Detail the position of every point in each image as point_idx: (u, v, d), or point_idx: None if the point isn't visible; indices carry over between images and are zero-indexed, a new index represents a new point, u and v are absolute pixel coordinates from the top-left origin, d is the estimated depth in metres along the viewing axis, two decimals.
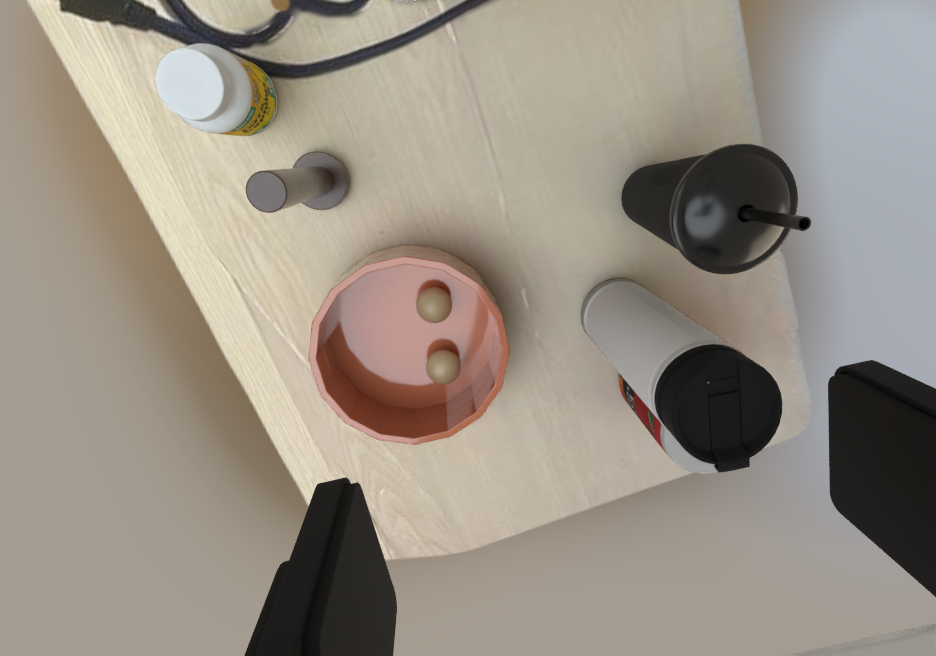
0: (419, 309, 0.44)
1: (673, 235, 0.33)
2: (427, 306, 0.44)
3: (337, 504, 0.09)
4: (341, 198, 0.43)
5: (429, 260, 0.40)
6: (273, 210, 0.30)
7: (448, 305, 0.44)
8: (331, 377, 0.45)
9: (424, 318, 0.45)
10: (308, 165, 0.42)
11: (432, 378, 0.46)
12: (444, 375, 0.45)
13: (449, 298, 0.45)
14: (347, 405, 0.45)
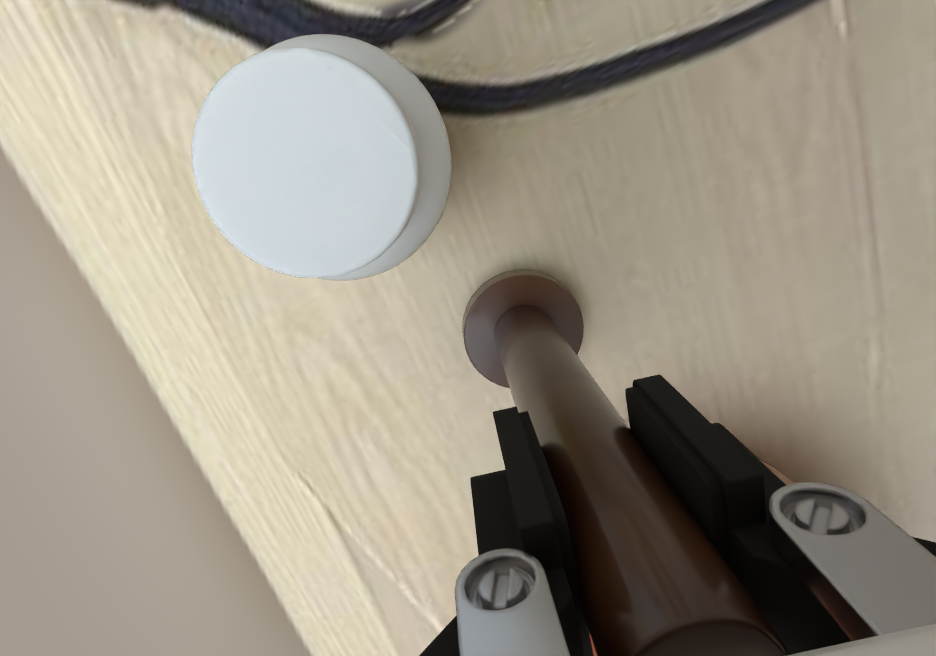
0: None
1: None
2: None
3: (521, 425, 0.10)
4: None
5: None
6: None
7: None
8: None
9: None
10: (505, 302, 0.20)
11: None
12: None
13: None
14: None
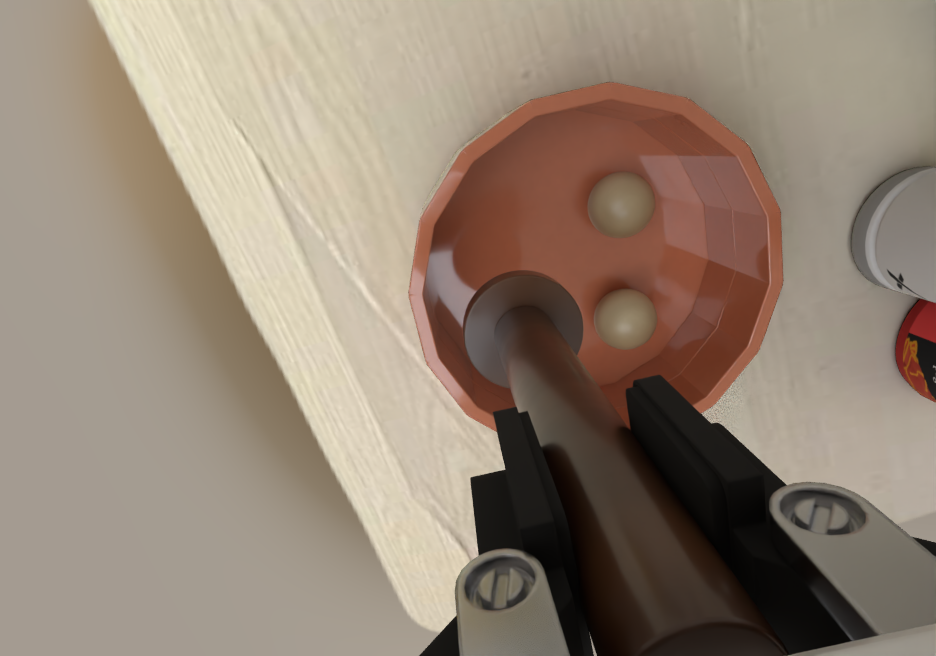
0: (600, 209, 0.24)
1: None
2: (620, 201, 0.24)
3: (521, 425, 0.10)
4: None
5: (657, 92, 0.20)
6: None
7: (653, 202, 0.24)
8: (437, 334, 0.25)
9: (608, 227, 0.25)
10: (505, 303, 0.20)
11: (611, 338, 0.26)
12: (636, 331, 0.25)
13: (652, 191, 0.25)
14: (468, 384, 0.25)
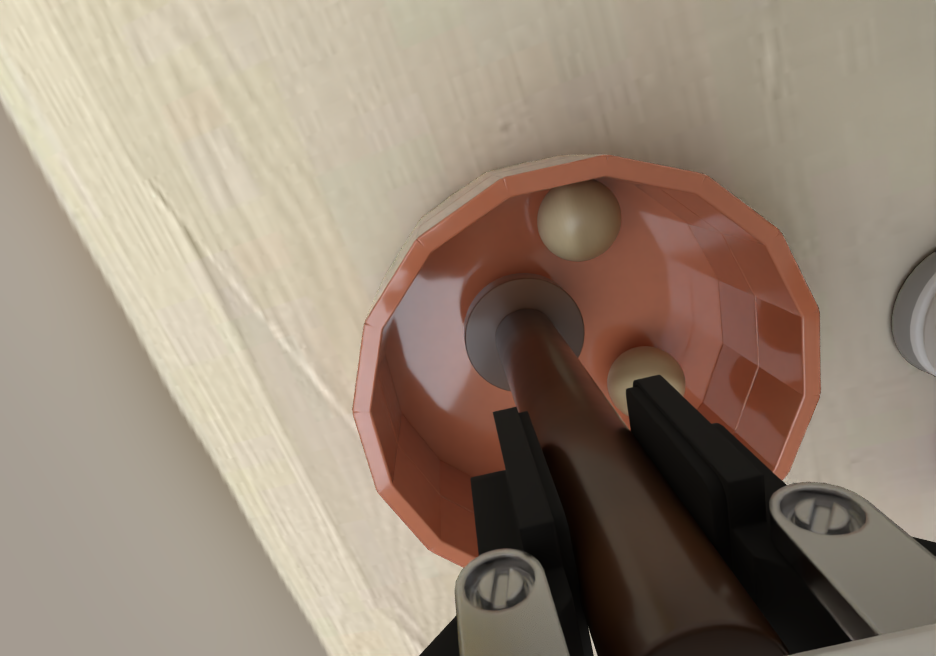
0: (594, 180, 0.19)
1: None
2: None
3: (521, 425, 0.10)
4: None
5: (666, 167, 0.16)
6: None
7: None
8: (395, 443, 0.20)
9: (596, 195, 0.19)
10: (506, 305, 0.20)
11: (613, 402, 0.22)
12: None
13: None
14: (431, 507, 0.20)
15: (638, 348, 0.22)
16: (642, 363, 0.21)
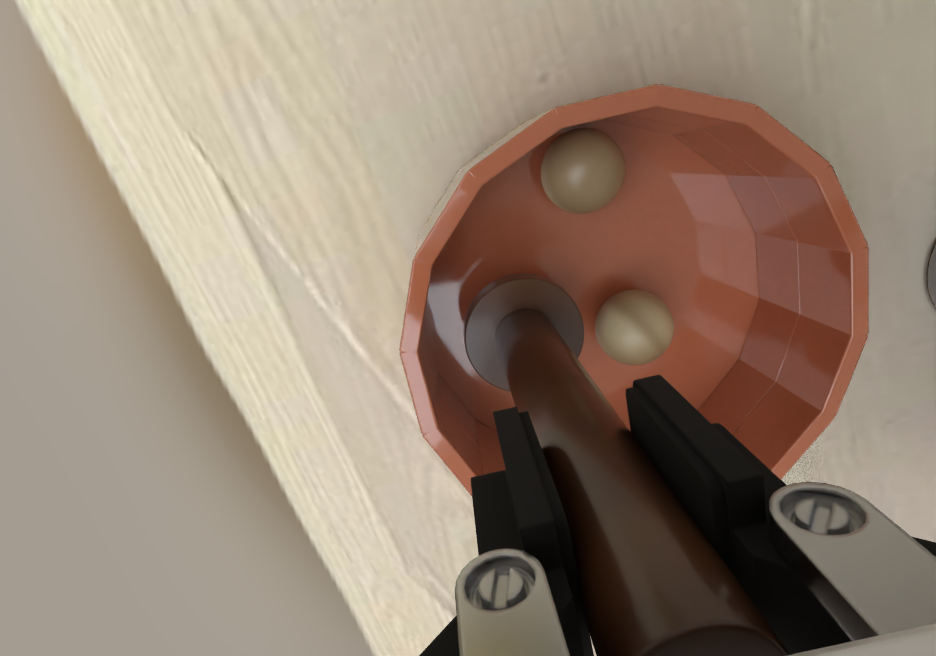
0: (586, 131, 0.19)
1: None
2: (608, 145, 0.19)
3: (521, 425, 0.10)
4: None
5: (717, 98, 0.16)
6: None
7: (608, 198, 0.19)
8: (436, 394, 0.20)
9: (570, 146, 0.19)
10: (506, 305, 0.20)
11: None
12: (610, 357, 0.22)
13: (610, 200, 0.20)
14: (473, 456, 0.20)
15: None
16: None
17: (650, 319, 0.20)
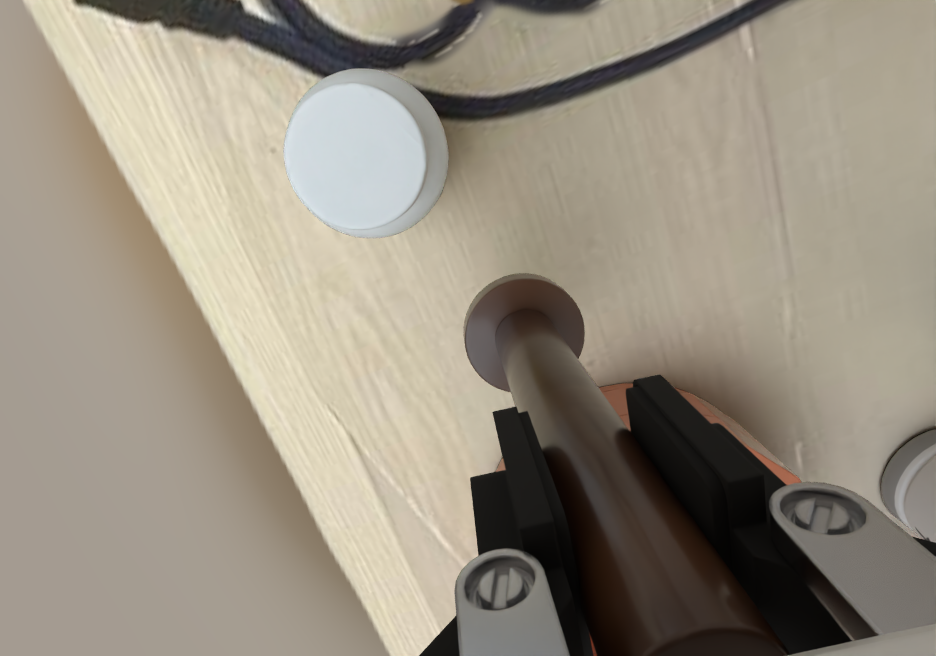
0: None
1: None
2: None
3: (521, 425, 0.10)
4: None
5: None
6: None
7: None
8: None
9: None
10: (506, 306, 0.19)
11: None
12: None
13: None
14: None
15: None
16: None
17: None
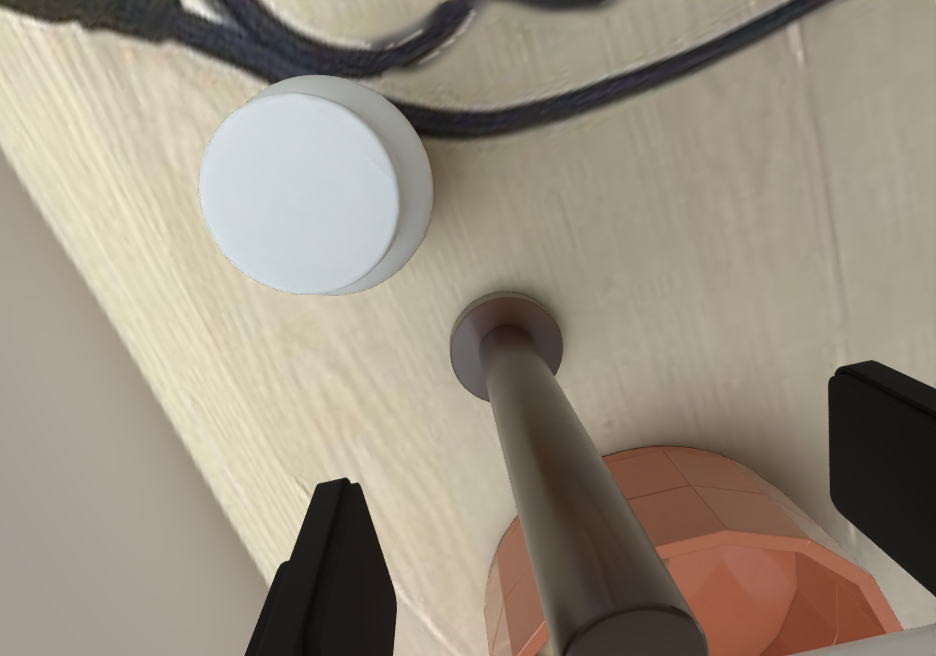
0: None
1: None
2: None
3: (337, 504, 0.09)
4: None
5: (777, 535, 0.18)
6: None
7: None
8: None
9: None
10: (489, 322, 0.21)
11: None
12: None
13: None
14: None
15: None
16: None
17: None
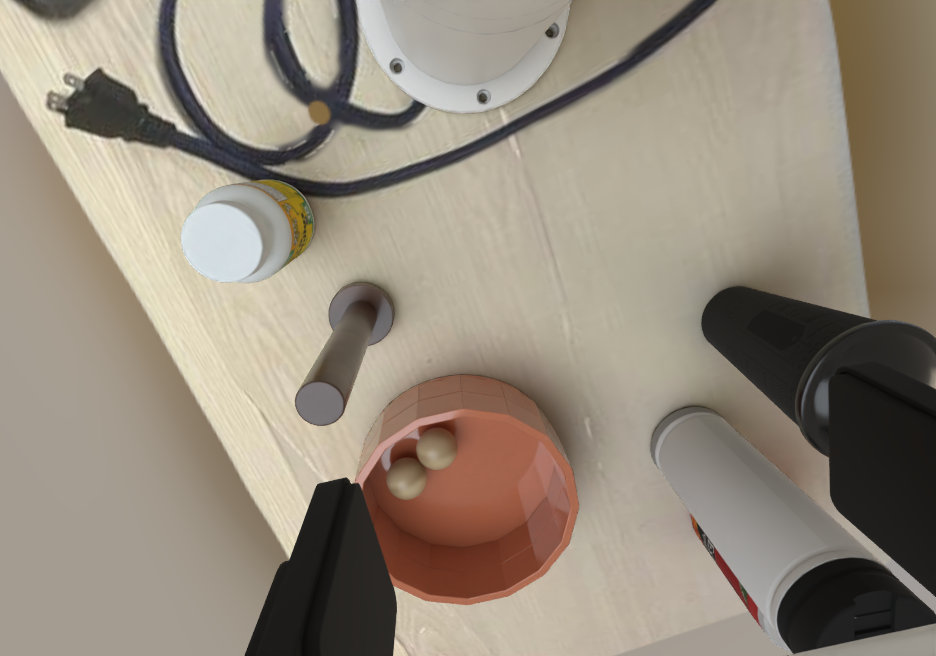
0: (427, 466, 0.39)
1: (799, 422, 0.28)
2: None
3: (337, 504, 0.09)
4: (385, 334, 0.38)
5: (491, 412, 0.35)
6: (327, 424, 0.24)
7: None
8: None
9: None
10: (349, 299, 0.37)
11: (397, 497, 0.40)
12: None
13: None
14: (391, 560, 0.39)
15: (404, 465, 0.39)
16: (414, 473, 0.39)
17: None
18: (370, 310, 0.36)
